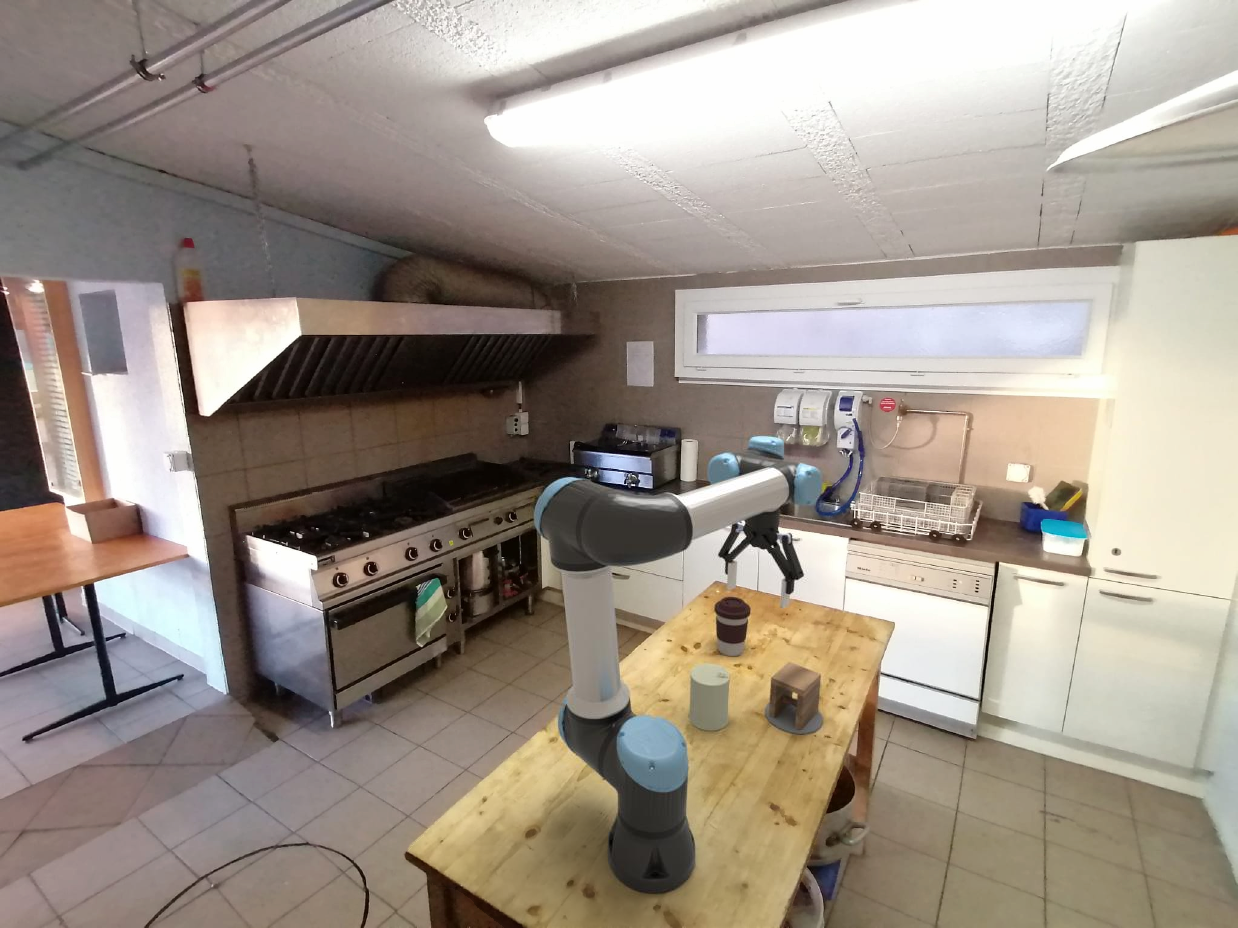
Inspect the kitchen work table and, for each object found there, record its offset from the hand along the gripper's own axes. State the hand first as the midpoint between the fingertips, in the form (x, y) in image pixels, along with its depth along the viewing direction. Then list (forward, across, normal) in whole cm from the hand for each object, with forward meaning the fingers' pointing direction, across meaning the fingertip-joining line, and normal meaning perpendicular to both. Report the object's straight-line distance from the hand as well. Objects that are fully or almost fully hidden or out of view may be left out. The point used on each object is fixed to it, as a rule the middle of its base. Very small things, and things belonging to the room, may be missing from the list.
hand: (757, 597), depth 134 cm
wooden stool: (+29, -8, -6) cm, 31 cm away
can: (+30, +6, +8) cm, 32 cm away
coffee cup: (+30, +19, -22) cm, 41 cm away
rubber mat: (+30, -8, -6) cm, 31 cm away
